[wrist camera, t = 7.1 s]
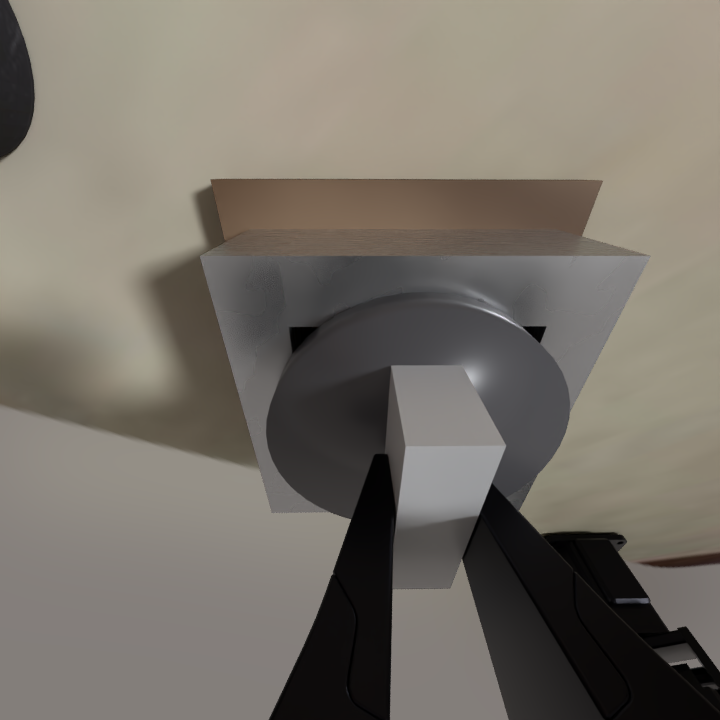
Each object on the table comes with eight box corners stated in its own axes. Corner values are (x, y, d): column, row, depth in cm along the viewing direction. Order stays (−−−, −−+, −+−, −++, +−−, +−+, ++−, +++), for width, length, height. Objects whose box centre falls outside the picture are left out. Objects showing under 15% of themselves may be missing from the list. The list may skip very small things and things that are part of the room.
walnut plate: (488, 443, 18) (496, 458, 17) (279, 444, 18) (275, 460, 17) (579, 179, 11) (603, 180, 10) (224, 178, 11) (210, 179, 10)
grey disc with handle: (479, 441, 15) (555, 607, 9) (303, 442, 15) (270, 610, 9) (536, 262, 10) (767, 376, 4) (276, 262, 10) (173, 378, 4)
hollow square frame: (485, 441, 16) (518, 510, 13) (289, 442, 16) (271, 512, 13) (556, 229, 11) (650, 256, 7) (250, 228, 10) (199, 256, 7)
